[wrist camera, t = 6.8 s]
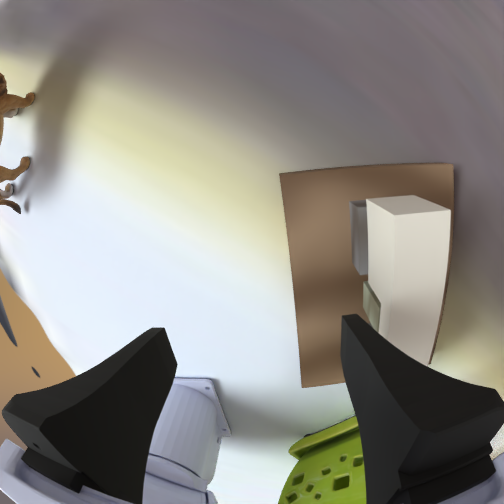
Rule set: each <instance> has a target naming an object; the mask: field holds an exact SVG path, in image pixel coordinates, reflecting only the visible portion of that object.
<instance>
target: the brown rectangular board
mask: <svg viewBox="0 0 504 504" xmlns="http://www.w3.org/2000/svg"><path fill="white" fill-rule="evenodd" d="M279 175H280V183H281V190H282V197H283V205H284V212H285V220H286V228H287V236H288V245H289V253H290V262H291V271H292V281H293V290H294V300H295V311H296V321H297V333H298V344H299V357H300V370H301V384H302V388H307V387H316V386H324V385H331V384H338V383H345V378H344V374H343V369H342V363H341V357H340V349H341V322H342V315H349V314H358V315H359V316H360V317H361V318H362V319H363V320H365V321H366V322H367V323H368V324H369V325H370V326H371V327H372V328H373V329H375V330H376V331H377V332H378V333H379V323H380V311H381V303H380V301H379V299H378V298H377V296H376V294H375V293H374V291H373V290H372V288H371V286H370V285H369V283H368V223H367V204H366V199H371V198H383V197H395V196H408V195H415V196H417V197H420V198H423V199H425V200H428V201H430V202H433V203H435V204H438V205H440V206H442V207H445V208H447V209H449V210H451V221H450V241H449V253H448V264H447V273H446V280H445V288H444V294H443V300H442V306H441V312H440V317H439V322H438V327H437V331H436V336H435V340H434V344H433V348H432V352H431V356H430V360H429V363H428V364H431V360H432V357H433V353H434V349H435V346H436V342H437V338H438V333H439V329H440V324H441V320H442V315H443V310H444V304H445V298H446V292H447V286H448V279H449V271H450V263H451V253H452V240H453V222H454V175H453V164H447V163H403V164H380V165H364V166H349V167H337V168H326V169H315V170H306V171H297V172H288V173H280V174H279Z"/></svg>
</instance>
